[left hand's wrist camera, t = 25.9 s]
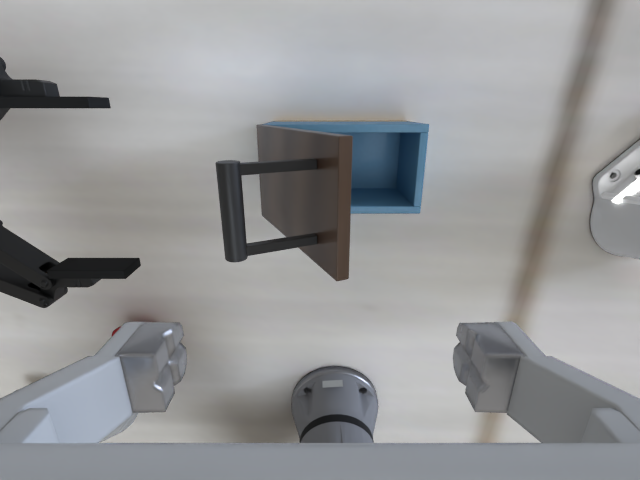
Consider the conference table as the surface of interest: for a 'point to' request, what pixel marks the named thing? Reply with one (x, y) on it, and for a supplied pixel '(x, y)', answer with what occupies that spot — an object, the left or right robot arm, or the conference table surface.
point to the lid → (293, 196)
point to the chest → (380, 162)
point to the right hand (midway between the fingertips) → (118, 192)
